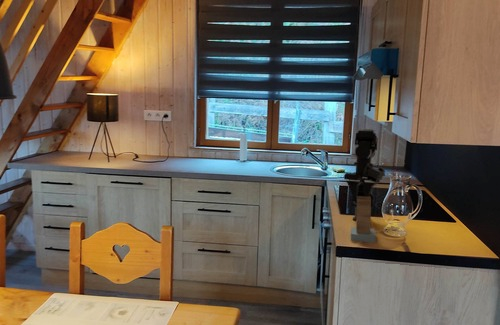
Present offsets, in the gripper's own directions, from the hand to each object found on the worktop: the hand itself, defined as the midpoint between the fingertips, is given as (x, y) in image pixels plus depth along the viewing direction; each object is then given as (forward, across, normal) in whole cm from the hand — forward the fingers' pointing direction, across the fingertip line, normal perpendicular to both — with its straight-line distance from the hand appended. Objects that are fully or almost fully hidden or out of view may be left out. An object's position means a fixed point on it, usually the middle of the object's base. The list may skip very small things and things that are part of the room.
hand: (360, 198), depth 182 cm
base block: (+15, -6, -5) cm, 17 cm away
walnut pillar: (+12, -6, -6) cm, 15 cm away
